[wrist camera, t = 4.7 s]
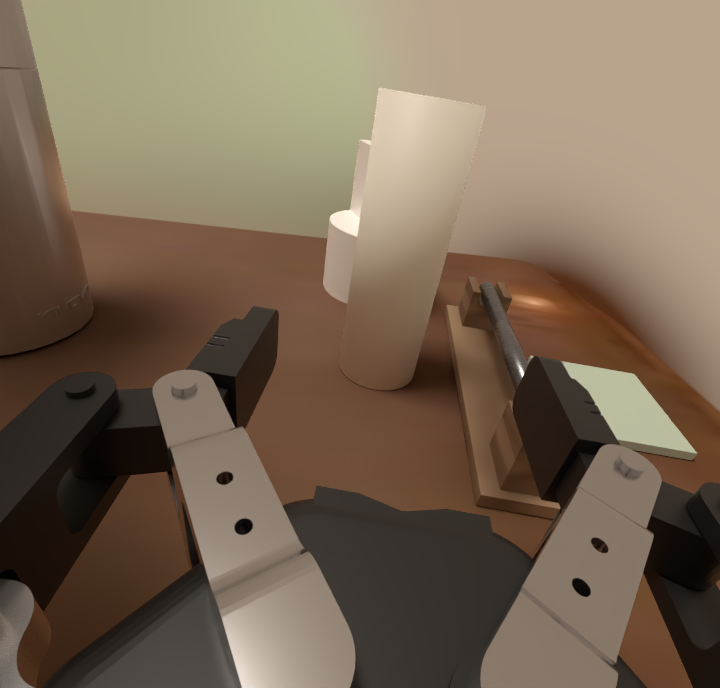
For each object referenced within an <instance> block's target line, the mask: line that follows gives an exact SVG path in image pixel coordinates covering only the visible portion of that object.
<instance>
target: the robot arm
mask: <svg viewBox="0 0 720 688" xmlns="http://www.w3.org/2000/svg"><path fill="white" fill-rule="evenodd" d="M36 66H37V65H36V61H35V57H34V53H33V49H32V44H31V40H30V36H29V32H28V28H27V24H26V19H25V15H24V11H23V7H22V2H21V0H0V356H2V355H9V354H15V353H19V352H24V351H28V350H33V349H36V348H39V347H42V346H45V345H48V344H52V343H54V342H56V341H59V340H61V339H63V338H65V337H68V336H69V335H71V334H73V333H74V332H76V331H78V330H79V329H81V328H82V327H83V326H84V325H85V324H86V323H87V322H88V321H89V320H90V318H91V317H92V315H93V311H94V305H93V301H92V297H91V293H90V288H89V284H88V280H87V276H86V272H85V267H84V263H83V259H82V254H81V250H80V245H79V241H78V237H77V233H76V229H75V224H74V220H73V216H72V212H71V208H70V204H69V199H68V195H67V191H66V186H65V182H64V178H63V174H62V170H61V165H60V161H59V157H58V153H57V149H56V145H55V140H54V136H53V132H52V128H51V124H50V120H49V115H48V111H47V107H46V102H45V98H44V94H43V90H42V85H41V81H40V77H39V73H38V69H37V68H36ZM278 321H279V314H278V311H277V310H274V309H268V308H262V307H257V306H253V307H252V308H251V310H250V311H249V313H248V314H247V315H246V317H245V318H244V319H243V320H240V319H235V318H234V319H232V320H230V321H228V322H227V323H225V324H223V325H221V326H220V327H219V329H218V330H217V331H216V332H215V334H214V335H213V337H211V339H210V340H209V341H208V342H207V345H205V346H204V347H203V349H202V350H201V351H200V352H199V354H198V355H197V356H196V357H195V359H194V360H193V361H192V363H191V364H190V365H189V366H188V368H187V369H186V370H180V371H175V372H172V373H169V374H167V375H165V376H163V377H162V378H160V379H159V380H158V381H157V382H156V383H155V384H154V386H153V388H146V389H126V390H117V388H116V384H115V381H114V379H113V378H112V377H110V376H109V375H106V374H103V373H99V372H84V373H78V374H74V375H70V376H67V377H65V378H62V379H60V380H58V381H57V382H55V383H53V384H52V385H51V386H50V387H49V388H48V389H46V390H45V391H44V392H43V393H42V394H41V395H40V396H39V397H38V398H37V399H35V400H34V401H33V402H32V403H31V404H30V405H29V406H28V407H27V408H26V409H25V410H23V411H22V412H21V413H20V414H19V415H18V416H17V417H16V418H15V419H14V420H12V421H11V422H10V423H9V424H8V425H7V426H6V427H5V428H4V429H3V430H2V431H0V688H37V679H38V674H39V670H40V667H41V664H42V662H43V660H44V658H45V655H46V653H47V651H48V648H49V645H50V642H51V627H50V624H49V622H48V620H47V618H46V616H45V615H44V613H43V611H44V610H45V608H46V607H47V605H48V604H49V602H50V600H51V599H52V597H53V596H54V594H55V593H56V591H57V590H58V588H59V586H60V585H61V583H62V582H63V580H64V579H65V577H66V575H67V574H68V572H69V571H70V569H71V568H72V566H73V564H74V563H75V561H76V560H77V558H78V557H79V555H80V553H81V552H82V550H83V549H84V547H85V546H86V544H87V543H88V541H89V539H90V538H91V536H92V535H93V533H94V532H95V530H96V528H97V527H98V525H99V524H100V522H101V521H102V519H103V517H104V516H105V514H106V513H107V511H108V510H109V508H110V506H111V505H112V503H113V502H114V500H115V499H116V497H117V496H118V494H119V492H120V491H121V489H122V488H123V486H124V485H125V483H126V481H127V480H128V478H129V477H130V475H136V474H147V473H157V472H166V473H167V477H168V481H169V485H170V489H171V493H172V496H173V500H174V504H175V508H176V512H177V515H178V519H179V523H180V527H181V531H182V535H183V540H184V545H185V550H186V554H187V558H188V563H189V567H190V570H189V571H188V572H187V573H185V574H184V575H183V576H181V577H180V578H179V579H177V580H176V581H175V582H173V583H172V584H170V585H169V586H168V587H166V588H165V589H164V590H162V591H161V592H160V593H158V594H157V595H156V596H154V597H153V598H152V599H150V600H149V601H148V602H146V603H145V604H144V605H142V606H141V607H140V608H138V609H137V610H136V611H134V612H133V613H132V614H130V615H129V616H127V617H126V618H125V619H123V620H122V621H121V622H119V623H118V624H117V625H115V626H114V627H113V628H111V629H110V630H109V631H107V632H106V633H105V634H103V635H102V636H101V637H99V638H98V639H97V640H95V641H94V642H93V643H91V644H90V645H89V646H87V647H86V648H84V649H83V650H82V651H80V652H79V653H78V654H76V655H75V656H74V657H73V658H71V659H70V660H69V661H68V662H67V663H65V664H64V665H63V666H62V667H61V668H60V669H59V670H58V671H57V672H56V673H54V675H53V676H52V677H51V678H50V679H49V680H48V681H47V682H46V683H45V684H44V685H43V686H42V688H647V687H646V686H645V685H644V684H643V682H642V681H641V680H640V679H639V678H638V677H637V676H636V674H635V673H634V672H633V671H632V670H631V669H630V668H629V667H628V665H627V664H626V663H625V662H624V661H623V660H622V659H621V658H620V656H619V655H618V653H619V649H620V646H621V643H622V639H623V636H624V633H625V630H626V626H627V623H628V620H629V617H630V613H631V610H632V607H633V603H634V600H635V597H636V594H637V590H638V587H639V584H640V581H641V577H642V574H643V573H644V575H645V577H646V580H647V582H648V584H649V587H650V589H651V591H652V594H653V596H654V598H655V600H656V603H657V605H658V607H659V610H660V612H661V614H662V617H663V619H664V621H665V624H666V626H667V628H668V630H669V633H670V635H671V637H672V640H673V642H674V644H675V647H676V649H677V651H678V654H679V656H680V658H681V661H682V663H683V665H684V667H685V670H686V672H687V674H688V677H689V679H690V681H691V684H692V686H693V688H720V591H719V589H718V587H717V585H716V584H715V583H716V582H717V581H718V580H720V484H718V483H705V484H703V485H702V486H701V487H700V488H699V489H698V490H697V491H696V492H695V493H694V494H692V493H690V492H687V491H685V490H682V489H680V488H677V487H675V486H672V485H670V484H667V483H665V482H662V481H661V476H660V474H659V472H658V471H657V469H656V468H655V467H654V466H653V465H652V464H651V463H650V462H649V461H648V460H647V459H646V458H644V457H643V456H642V455H640V454H638V453H637V452H635V451H633V450H631V449H629V448H626V447H623V446H621V445H620V443H619V442H618V440H617V438H616V437H615V435H614V433H613V432H612V430H611V428H610V427H609V425H608V423H607V422H606V420H605V418H604V417H603V415H601V412H600V410H599V408H598V407H597V405H595V402H594V400H593V398H592V397H591V395H590V393H589V392H588V390H587V389H585V388H584V387H583V386H582V385H581V384H580V383H579V382H578V381H577V380H575V379H572V378H571V377H570V375H569V374H568V372H567V370H566V368H565V367H564V365H563V363H562V362H561V361H560V360H555V359H550V358H544V357H538V356H534V357H533V358H532V359H531V360H530V362H529V364H528V366H527V368H526V371H525V373H524V375H523V377H522V379H521V382H520V384H519V386H518V388H517V390H516V393H515V395H514V399H513V405H512V410H513V415H514V418H515V421H516V424H517V428H518V431H519V434H520V437H521V440H522V443H523V446H524V449H525V452H526V455H527V458H528V461H529V464H530V468H531V471H532V474H533V477H534V480H535V483H536V486H537V489H538V492H539V495H540V498H541V500H544V501H550V502H555V503H559V505H560V510H559V511H558V513H557V514H556V516H555V518H554V519H553V521H552V523H551V524H550V526H549V528H548V529H547V531H546V533H545V534H544V536H543V538H542V539H541V541H540V543H539V544H538V546H537V548H536V550H535V551H534V553H533V555H532V556H531V557H530V556H529V555H527V554H526V553H525V552H524V551H523V550H521V549H520V548H519V547H518V546H516V545H515V544H513V543H512V542H510V541H509V540H507V539H505V538H503V537H501V536H500V535H498V534H496V533H493V532H492V527H491V522H490V517H488V516H483V515H477V514H471V513H466V512H460V511H455V510H449V509H440V510H423V511H400V510H398V509H395V508H393V507H390V506H388V505H386V504H383V503H381V502H378V501H376V500H374V499H371V498H369V497H367V496H364V495H362V494H359V493H354V492H349V491H343V490H337V489H332V488H326V487H321V486H317V487H316V491H315V495H314V499H309V500H301V501H295V502H292V503H289V504H285V505H283V506H282V504H281V502H280V500H279V498H278V496H277V494H276V492H275V490H274V488H273V486H272V484H271V482H270V480H269V477H268V475H267V473H266V471H265V469H264V467H263V465H262V463H261V461H260V459H259V457H258V455H257V453H256V451H255V449H254V447H253V445H252V443H251V441H250V439H249V436H248V434H247V432H246V431H245V428H246V426H247V424H248V422H249V420H250V417H251V415H252V413H253V411H254V409H255V407H256V405H257V403H258V401H259V399H260V397H261V395H262V393H263V390H264V388H265V386H266V384H267V382H268V380H269V378H270V376H271V374H272V372H273V369H274V366H275V363H276V358H277V346H278Z"/></svg>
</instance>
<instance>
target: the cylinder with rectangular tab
mask: <svg viewBox="0 0 720 688" xmlns="http://www.w3.org/2000/svg"><path fill="white" fill-rule="evenodd" d="M370 146H371V141H369V140H359V145H358V153H357V161H356V169H355V176H354V184H353V192H352V199H351V208H350V210H347V211H341V212H336V213H334V214H333V215H331V217H330V221H329V230H328V240H327V249H326V259H325V269H324V279H323V284H324V288H325V289H326V291H327V292H328V293H329V294H330V295H332V296H333V297H334V298H336V299H337V300H339V301H342V302H344V303H346V304H348V297H349V290H350V283H351V276H352V269H353V262H354V255H355V249H356V242H357V235H358V228H359V221H360V214H361V207H362V201H363V194H364V187H365V180H366V173H367V166H368V159H369V152H370Z"/></svg>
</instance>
